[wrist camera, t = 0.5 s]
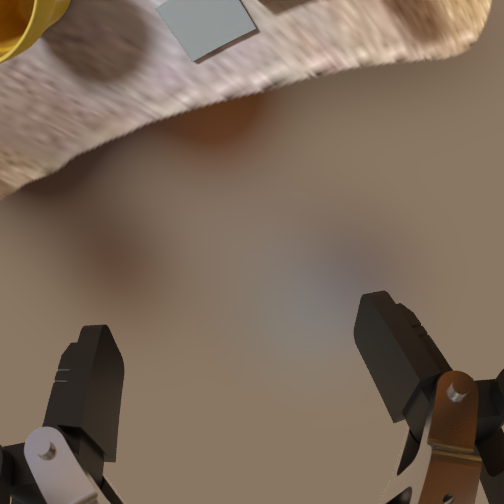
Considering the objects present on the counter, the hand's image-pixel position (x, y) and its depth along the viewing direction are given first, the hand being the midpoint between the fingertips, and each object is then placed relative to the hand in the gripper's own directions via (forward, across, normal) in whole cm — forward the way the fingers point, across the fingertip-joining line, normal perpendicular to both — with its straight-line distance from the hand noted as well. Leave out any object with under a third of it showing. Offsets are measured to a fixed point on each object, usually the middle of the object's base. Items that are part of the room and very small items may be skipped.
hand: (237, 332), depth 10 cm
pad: (+26, 0, -13) cm, 29 cm away
